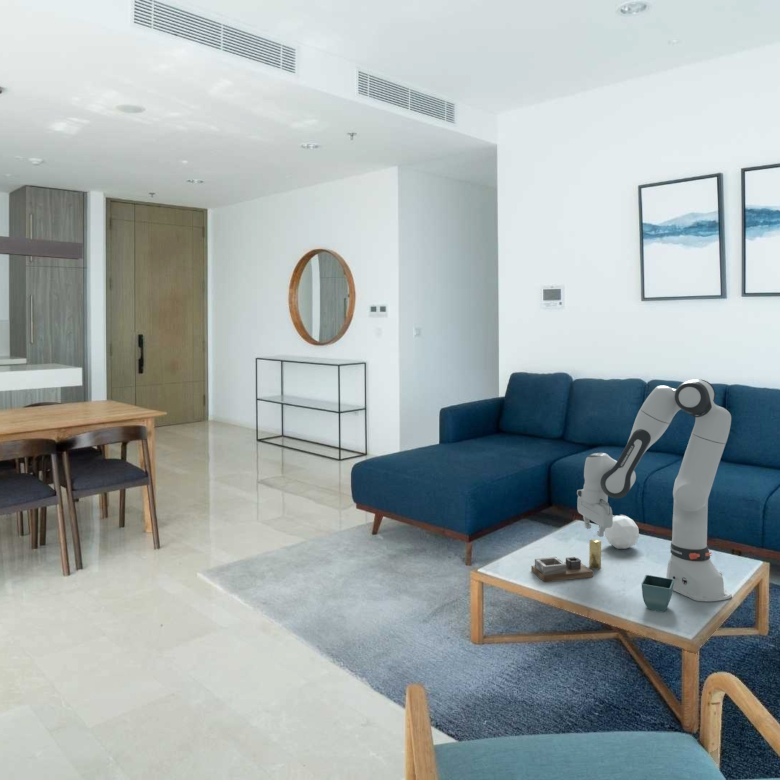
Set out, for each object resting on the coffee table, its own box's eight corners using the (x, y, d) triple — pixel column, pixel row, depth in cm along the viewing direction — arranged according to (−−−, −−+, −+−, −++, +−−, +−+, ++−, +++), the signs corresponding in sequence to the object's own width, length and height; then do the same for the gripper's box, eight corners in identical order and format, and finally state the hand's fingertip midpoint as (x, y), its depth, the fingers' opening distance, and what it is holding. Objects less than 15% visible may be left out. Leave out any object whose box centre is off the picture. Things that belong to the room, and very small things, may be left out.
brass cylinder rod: (603, 568, 257) (603, 542, 256) (592, 569, 256) (593, 543, 255) (597, 564, 261) (597, 538, 260) (587, 565, 260) (587, 539, 259)
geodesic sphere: (592, 536, 277) (615, 511, 272) (596, 526, 289) (617, 502, 285) (622, 560, 273) (645, 536, 269) (625, 549, 286) (646, 525, 281)
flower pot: (670, 616, 216) (670, 588, 215) (640, 610, 220) (641, 583, 219) (673, 605, 224) (674, 579, 223) (645, 600, 228) (645, 574, 227)
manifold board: (592, 576, 249) (593, 563, 249) (544, 582, 245) (544, 568, 245) (578, 566, 260) (578, 553, 259) (531, 571, 256) (531, 558, 255)
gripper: (618, 503, 246) (616, 540, 248) (589, 488, 266) (588, 523, 268) (601, 504, 245) (600, 541, 247) (574, 489, 265) (573, 524, 266)
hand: (593, 532), depth 257 cm, fingers open, 8 cm apart
